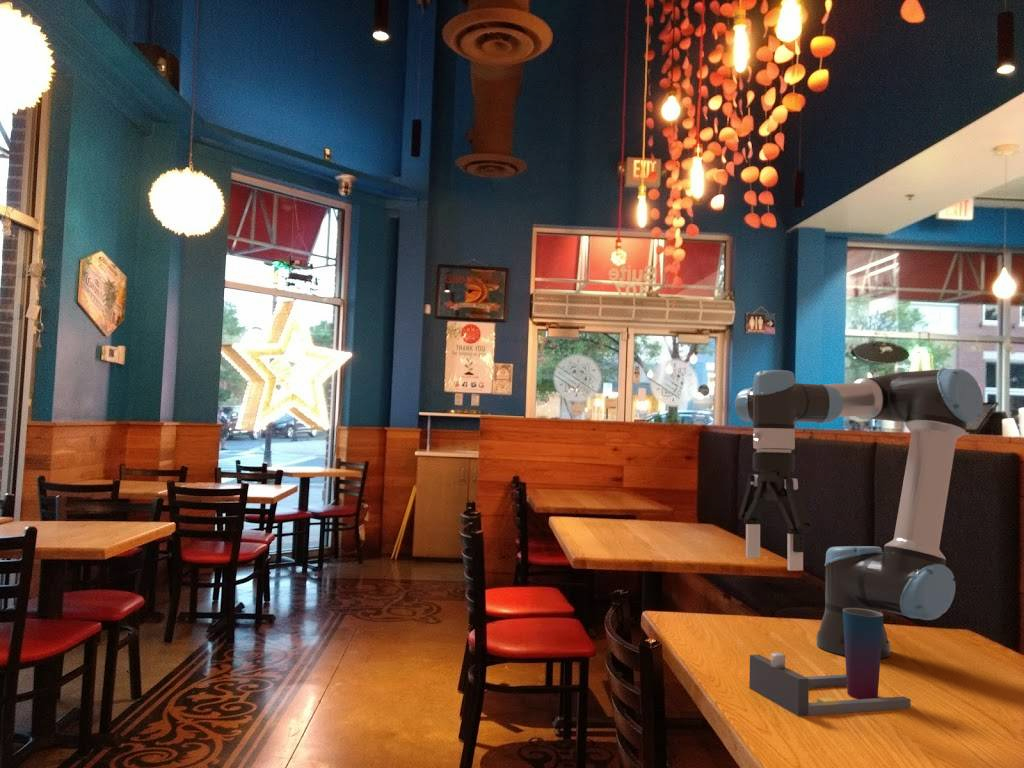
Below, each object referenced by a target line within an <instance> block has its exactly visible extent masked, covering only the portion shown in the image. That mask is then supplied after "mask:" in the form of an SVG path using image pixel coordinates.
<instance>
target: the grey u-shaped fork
mask: <svg viewBox="0 0 1024 768" xmlns="http://www.w3.org/2000/svg"><path fill="white" fill-rule="evenodd" d="M841 686H843V687H844V686H847V677H846V674H834V675H832V674H831V675H828V674H827V675H812V676H811V675H810V676H804V675H802V674H800V673H798V672H796V671H794V670H792V669H790V668H788V667H786V654H784V653H781V652H771V653H770V659H769V658H768V657H765V656H763V655H762V654H749V689H750V690H752V691H754V692H756V693H757V694H758V695H760V696H762V697H764V698H766V699H768V700H770V701H771V702H773V703H774V704H776V705H778V706H780V707H781V708H783V709H785V710H787V711H788V712H791V713H792V714H793V715H795V716H797V717H805V716H806V717H807V716H817V715H820V716H821V715H833V714H834V715H835V714H846V713H859V712H862V713H863V712H874V711H875V712H878V711H888V710H890V711H891V710H902V709H903V710H904V709H905V710H907V709H911V708H912V707H911V703H912V702H911V701H912V700H911V698H909V697H906V696H891V697H890V696H889V697H878V698H872V699H857V698H855V699H845V700H842V699H841V700H839V699H837V698H834V697H832V696H831V697H817V700H816V701H813V702H809V692H810V689H809V688H825V687H827V688H828V687H841Z"/></svg>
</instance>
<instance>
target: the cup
mask: <svg viewBox="0 0 1024 768" xmlns="http://www.w3.org/2000/svg"><path fill="white" fill-rule="evenodd" d="M883 624H884V614H883V613H880V612H877V611H873V610H868V609H861V608H845V609H843V625H844V643H845V675H846V677H847V685H846V689H847V690H846V693H847V694H848V696H850V697H851V698H855V699H872V698H879V684H880V683H879V682H880V671H881V670H880V668H881V658H880V657H881V643H882V629H883Z"/></svg>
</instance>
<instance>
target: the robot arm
mask: <svg viewBox="0 0 1024 768" xmlns="http://www.w3.org/2000/svg"><path fill="white" fill-rule="evenodd" d="M795 378H796V377H795V373H794V372H793V371H790V370H786V369H785V370H783V369H770V370H769V369H768V370H767V369H766V370H760V371H757V372H756V373H755V374H754V376H753V386H751V387H749V388H743V389H742V390H740V391H739V393H737V395H736V397H735V401H734V407H735V408H734V410H735V413H736V414H737V416H738V418H740V419H741V420H742V421H743V422H748V423H753V425H752V426H753V432H752V433H753V434H752V437H753V439H752V445H753V447H752V448H753V449H755V450H756V451H754V452H753V453H752V470H753V471H755V472H758V474H755V473H754V474H751V473H750V474H748V476H747V485H746V489H745V492H744V495H743V499H742V502H741V506H740V509H739V513H738V518H739V520H742V521H743V523H744V524H745V558H747V559H759V558H761V522H760V518H761V516H762V514H763V513H764V510H765V509H766V507H767V505H768V503H769V501H774V503H775V504H777V505H778V507H779V510H780V511H781V513H782V515H783V518H784V520H785V523H786V525H787V526H788V529H789V530H788V531H787V539H786V540H787V543H786V544H787V545H786V546H787V549H786V550H787V553H786V554H787V563H786V564H787V571H790V572H791V571H793V572H794V571H804V552H805V534H807V533H810V532H813V530H814V527H813V524H812V519H811V518H810V513H809V510H808V506H807V504H806V500H805V496H804V493H803V486H802V480H801V478H793V477H792V478H790V473H793V472H794V471H795V454H794V452H792V451H794V450H795V447H796V440H795V439H796V436H795V435H796V433H795V432H796V430H795V424H796V423H817V424H823V423H831V422H833V421H835V420H836V419H838V418H842V417H843V418H844V417H856V418H857V419H859V420H860V419H861V420H881V421H892V422H898V423H899V422H901V423H905V425H904V426H905V428H907V430H908V431H909V432H910V441H909V446H908V453H907V458H906V464H905V468H904V469H905V471H904V476H903V482H902V483H903V484H902V487H901V488H902V489H901V494H900V499H899V505H898V512H897V516H896V517H897V518H896V524H895V530H894V535H893V539H892V540H891V541H889V542H887V543H885V544H884V548H883V550H882V547H880V546H873V545H872V546H870V545H869V546H868V545H865V546H864V545H862V546H861V545H860V546H859V545H857V546H856V545H853V546H851V545H848V546H846V545H845V546H844V545H843V546H831V547H829V548H828V549H827V550H826V553H825V563H824V598H825V600H824V601H825V602H824V603H825V605H824V606H825V607H824V613H823V616H822V620H821V622H820V626H819V630H818V631H817V632H816V646H817V647H818V648H820V649H822V650H824V651H826V652H830V653H833V654H836V655H840V656H845V643H844V625H843V609H845V608H861V609H868V610H873V611H877V612H880V613H882V611H886V612H890V613H894V614H897V615H901V616H905V617H907V618H910V619H919V620H925V621H933V620H936V619H938V618H940V617H941V616H942V615H943V614H945V613H946V612H947V611H948V609H949V608H950V607H951V605H952V603H953V600H954V597H955V594H956V581H955V580H954V579H955V576H954V573H953V572H952V570H951V569H950V568H949V567H947V566H946V562H947V560H946V557H945V555H944V554H943V553H942V551H941V550H940V545H941V538H942V532H943V525H944V520H945V514H946V513H945V512H946V508H947V501H948V494H949V489H950V481H951V475H952V470H953V462H954V457H955V449H956V442H957V440H958V439H959V438H961V437H963V436H965V435H966V431H967V426H968V424H970V423H973V422H976V421H977V420H978V419H979V418H980V417H981V416H982V412H983V410H984V397H983V392H982V390H981V387H980V386H979V383H978V380H977V379H976V378H975V377H974V376H973V375H972V374H971V373H970V372H968V371H967V370H964V369H961V368H944V367H943V368H940V369H931V370H930V369H928V370H916V371H901V372H895V373H888V374H885V375H879V376H873V377H864V378H859V379H856V380H854V381H853V382H852V383H851V382H848V383H828V384H827V383H825V384H823V383H820V384H817V383H816V384H815V383H814V384H813V383H798V382H797V381H796V379H795ZM882 614H883V613H882ZM890 656H891V643H890V641H889V638H888V634H887V630H886V628H885V624H884V623H883V629H882V643H881V657H880V659H885V658H888V657H890Z"/></svg>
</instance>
